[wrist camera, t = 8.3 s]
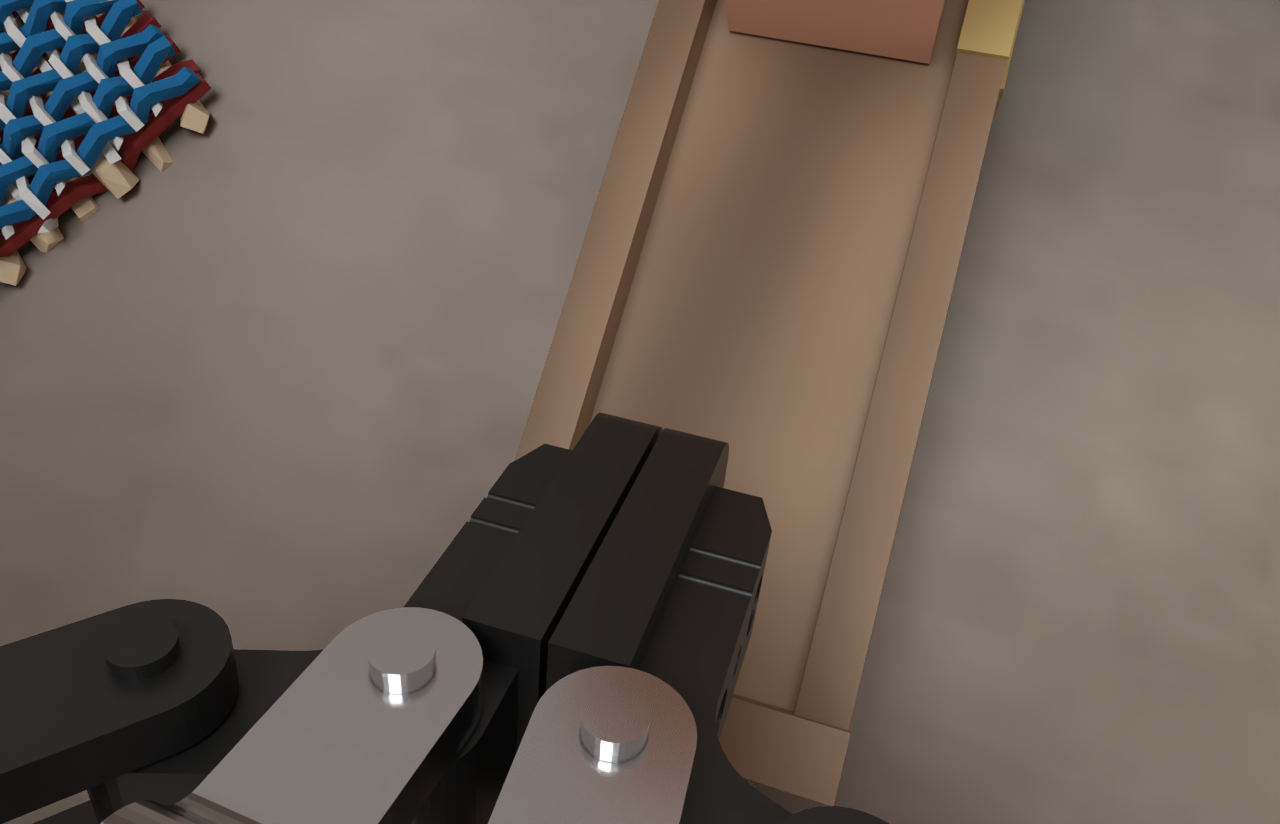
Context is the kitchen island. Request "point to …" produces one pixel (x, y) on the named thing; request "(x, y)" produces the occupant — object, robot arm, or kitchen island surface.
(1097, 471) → the kitchen island surface
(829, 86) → the beam
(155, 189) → the kitchen island surface
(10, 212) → the woven mat
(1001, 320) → the kitchen island surface
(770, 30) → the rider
